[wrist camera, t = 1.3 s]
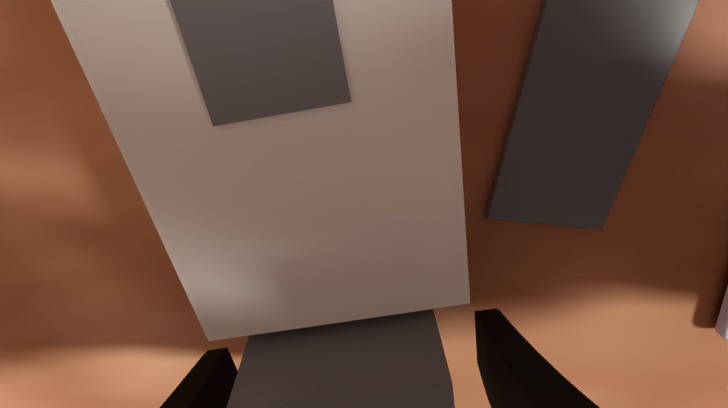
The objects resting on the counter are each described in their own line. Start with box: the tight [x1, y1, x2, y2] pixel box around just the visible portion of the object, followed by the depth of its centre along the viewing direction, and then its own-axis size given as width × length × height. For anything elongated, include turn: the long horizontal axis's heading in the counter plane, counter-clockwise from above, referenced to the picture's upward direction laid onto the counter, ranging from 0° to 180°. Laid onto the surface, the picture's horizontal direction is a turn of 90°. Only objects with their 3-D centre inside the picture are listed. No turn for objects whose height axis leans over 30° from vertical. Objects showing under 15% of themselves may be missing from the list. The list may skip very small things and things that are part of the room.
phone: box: [485, 0, 699, 229], centre depth 11 cm, size 7×4×1 cm, turn 174°
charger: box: [226, 309, 455, 408], centre depth 10 cm, size 6×4×5 cm
